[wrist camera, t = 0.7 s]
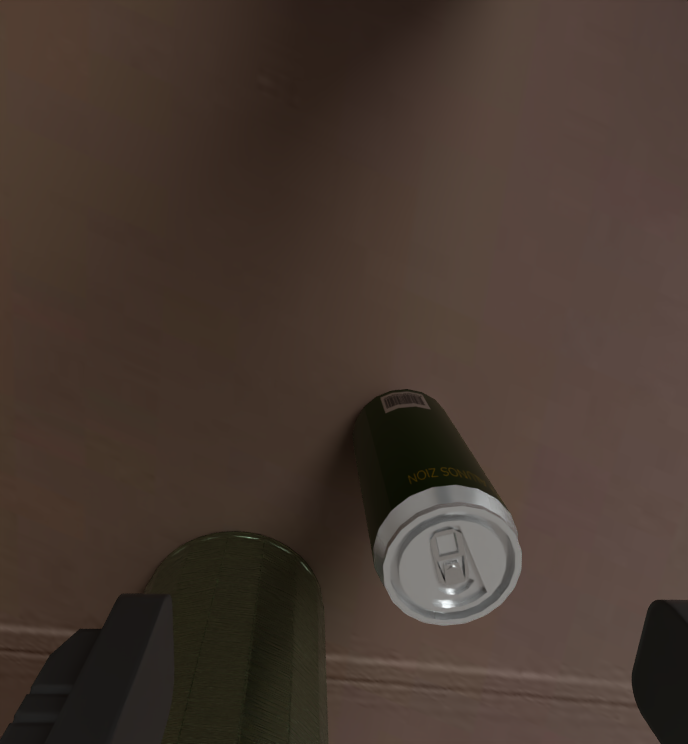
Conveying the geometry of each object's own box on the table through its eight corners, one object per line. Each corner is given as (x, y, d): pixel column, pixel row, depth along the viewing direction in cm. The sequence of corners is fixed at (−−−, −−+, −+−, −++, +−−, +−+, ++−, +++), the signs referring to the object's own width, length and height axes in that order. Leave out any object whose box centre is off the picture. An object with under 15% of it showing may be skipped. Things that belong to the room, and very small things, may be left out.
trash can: (122, 551, 32) (-22, 821, 18) (301, 514, 32) (293, 756, 18) (175, 689, 35) (88, 1008, 21) (337, 655, 35) (355, 953, 21)
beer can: (341, 398, 30) (360, 521, 18) (437, 374, 30) (516, 482, 18) (363, 483, 31) (394, 645, 20) (455, 460, 31) (538, 610, 20)
